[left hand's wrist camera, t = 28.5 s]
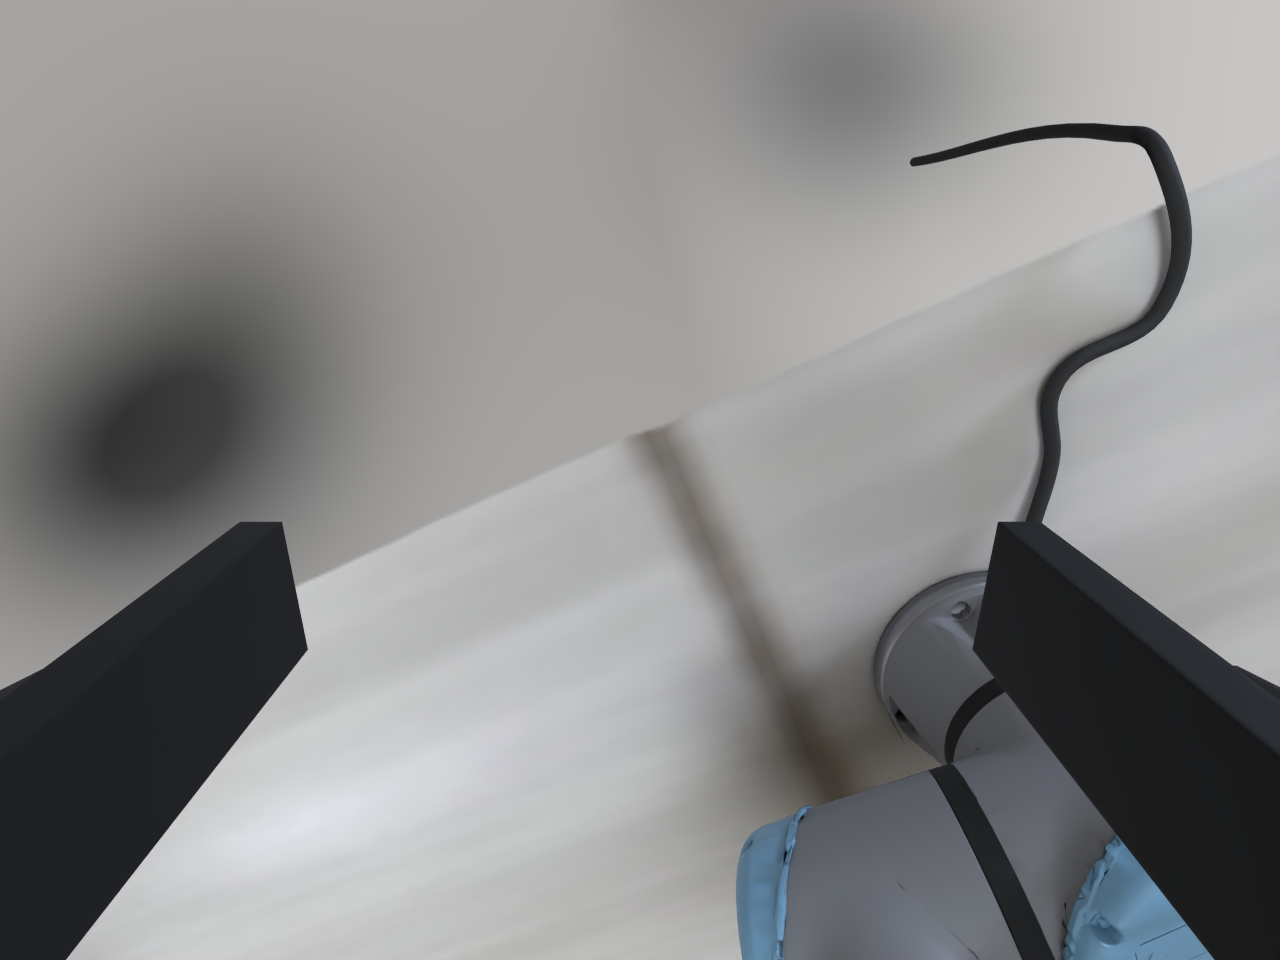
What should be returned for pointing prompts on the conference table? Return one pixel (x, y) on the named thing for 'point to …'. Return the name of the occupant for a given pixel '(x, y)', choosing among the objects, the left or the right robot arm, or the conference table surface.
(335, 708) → the conference table surface
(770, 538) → the conference table surface
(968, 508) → the conference table surface
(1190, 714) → the left robot arm
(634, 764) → the conference table surface
